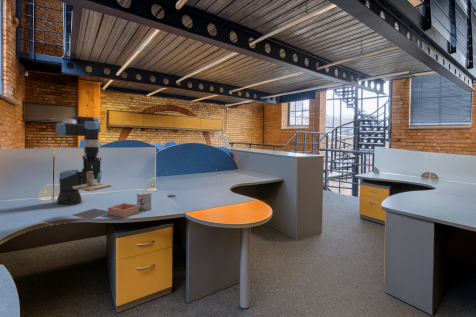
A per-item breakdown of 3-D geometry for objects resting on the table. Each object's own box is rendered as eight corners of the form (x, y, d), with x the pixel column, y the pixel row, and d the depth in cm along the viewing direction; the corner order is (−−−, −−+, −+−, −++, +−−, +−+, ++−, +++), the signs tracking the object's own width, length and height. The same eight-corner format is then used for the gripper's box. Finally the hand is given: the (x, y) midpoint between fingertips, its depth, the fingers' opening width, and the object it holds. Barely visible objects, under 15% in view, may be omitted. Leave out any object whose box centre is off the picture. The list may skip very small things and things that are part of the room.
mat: (71, 216, 157) (71, 215, 157) (94, 209, 172) (94, 208, 172) (89, 220, 152) (89, 219, 151) (112, 213, 166) (112, 212, 166)
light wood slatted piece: (72, 188, 156) (71, 171, 155) (93, 184, 170) (93, 169, 169) (89, 191, 151) (89, 174, 150) (110, 186, 165) (110, 171, 164)
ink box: (149, 207, 182) (149, 191, 180) (151, 209, 177) (151, 193, 176) (136, 209, 176) (136, 192, 175) (138, 211, 172) (138, 194, 171)
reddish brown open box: (108, 215, 162) (108, 207, 161) (124, 210, 174) (124, 202, 173) (123, 218, 157) (123, 210, 157) (139, 212, 169) (139, 205, 169)
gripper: (76, 145, 157) (76, 182, 160) (96, 147, 151) (96, 186, 154) (87, 145, 164) (87, 181, 167) (107, 147, 158) (107, 184, 161)
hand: (92, 183), depth 160 cm, fingers closed on light wood slatted piece, 4 cm apart
